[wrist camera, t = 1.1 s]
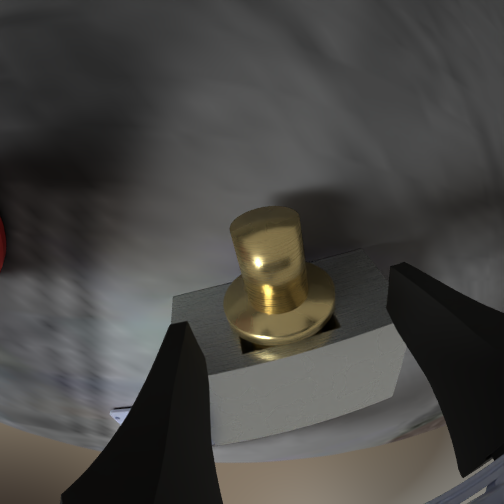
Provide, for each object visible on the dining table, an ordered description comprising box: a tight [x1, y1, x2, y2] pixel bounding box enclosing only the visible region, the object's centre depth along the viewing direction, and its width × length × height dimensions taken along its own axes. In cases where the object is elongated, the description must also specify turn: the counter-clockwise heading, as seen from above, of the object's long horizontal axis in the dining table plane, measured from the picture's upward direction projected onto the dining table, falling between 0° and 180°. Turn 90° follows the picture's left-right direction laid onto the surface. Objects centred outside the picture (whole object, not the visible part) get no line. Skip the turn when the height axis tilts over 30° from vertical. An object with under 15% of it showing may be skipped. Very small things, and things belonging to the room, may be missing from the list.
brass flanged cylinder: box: [223, 206, 335, 351], centre depth 16 cm, size 10×6×6 cm, turn 11°
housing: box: [171, 249, 407, 446], centre depth 18 cm, size 8×12×6 cm, turn 101°
